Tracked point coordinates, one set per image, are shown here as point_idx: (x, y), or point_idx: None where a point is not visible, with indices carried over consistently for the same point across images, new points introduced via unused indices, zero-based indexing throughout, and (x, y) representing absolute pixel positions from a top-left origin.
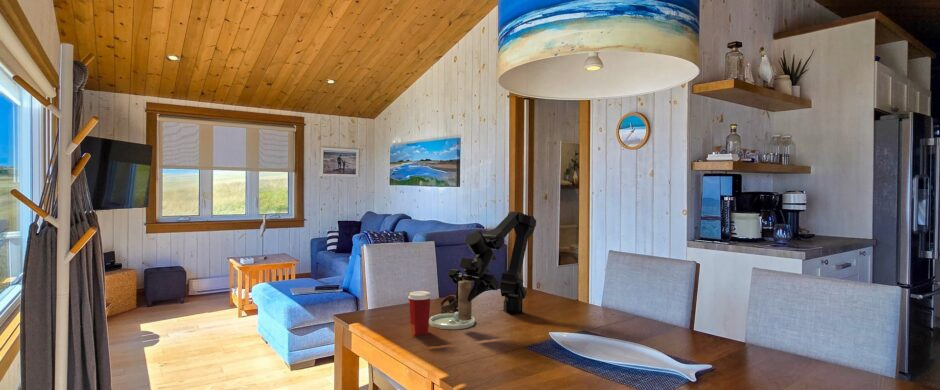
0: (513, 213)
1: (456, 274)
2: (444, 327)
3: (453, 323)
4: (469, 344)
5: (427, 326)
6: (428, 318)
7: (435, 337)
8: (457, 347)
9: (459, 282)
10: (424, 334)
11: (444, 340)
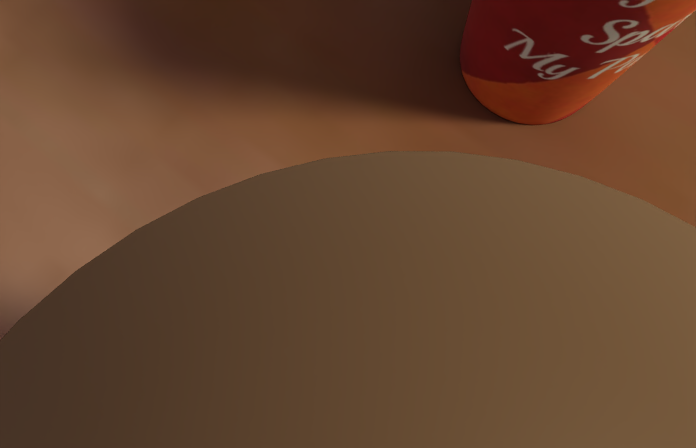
0: None
1: None
2: None
3: None
4: (55, 227)
5: (484, 42)
6: (512, 6)
7: (395, 121)
8: (75, 108)
9: (509, 196)
10: (462, 49)
11: (282, 131)
